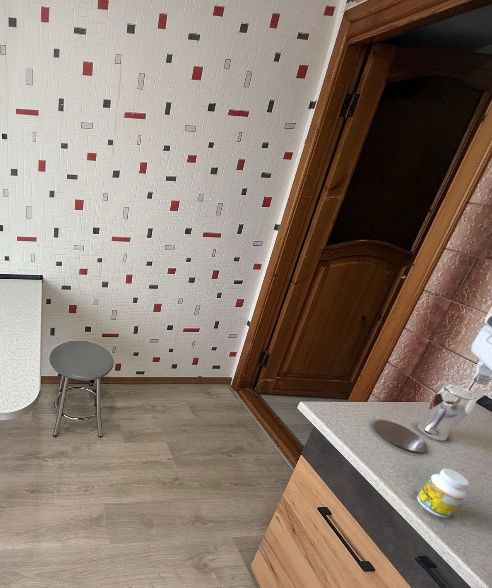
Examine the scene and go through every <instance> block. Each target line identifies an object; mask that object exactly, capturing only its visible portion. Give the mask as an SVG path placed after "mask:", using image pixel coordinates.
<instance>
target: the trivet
mask: <svg viewBox="0 0 492 588" xmlns="http://www.w3.org/2000/svg"><path fill="white" fill-rule="evenodd" d="M373 427H374V430H375V432H377V434H378V435H379V436H380V437H381V438H382V439H384V440H385V441H386V442H388V443H390V444H391V445H393V446H395V447H396V448H399V449H400V450H403V451H406V452H408V453H409V452H410V453H414V454H423V453H425V452H426V451H427V444H426V442H425V441H424V440H423V439H422V437H420V436H419V435H418V434H416V432H414V431H412V430H410V429H409V428H407V427H406V426H403V425H401V424H399V423H396V422H393V421H391V420H386V419H385V420H384V419H379V420H377V421H375V422H374V424H373Z"/></svg>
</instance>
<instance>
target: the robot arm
mask: <svg viewBox="0 0 492 588" xmlns="http://www.w3.org/2000/svg"><path fill="white" fill-rule="evenodd" d="M484 323H485V325H483V326H482V328H481V329H480V330H479V332H478V333H477V335H476V336H475V338H474V340H473V342H472V343H471V346H470V347H471V348H470V351H471V353H472V354H473V355H474V356H475V357H476V358H477V359H478V360H479V361H478V362H477V365H476V372H475V374H474V375H473V377H472V380H473V381H474V382H475V383H477V384H478V385H483V386H488V385H489V383H490V382H491V381H492V377H491V375H492V313H490V314H488V315H487V317H485V320H484Z"/></svg>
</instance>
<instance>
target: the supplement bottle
mask: <svg viewBox="0 0 492 588" xmlns="http://www.w3.org/2000/svg"><path fill="white" fill-rule="evenodd" d="M469 485H470V482H469V481H468V479H467V478H466V477H465V476H463V474H461V473H459V472H457V471H456V470H453V469H450V468H443V469H441V470H440V471H439V473H434V474H432V475H431V476H430V477H429V478H428V480H427V481H426V483H425V484H424V485H423V487H422V488H421V489H420V491H419V492H418V493H417V496H416V499H417V501H418V503H419V504H420V505H421V506H422V507H423V508H424V509H425V510H426V511H427V512H429V513H431V514H432V515H434V516H437V517H439V518H442V519H443V518H445V519H446V518H450V517H451V515H453V513H454V512H455V511H456V510H457V508H458V507H459V506H460V505H461V504H462V502H463V501H464V500H465V499H466V498H467V494H468V493H467V490H466V489H467V488H468V486H469Z"/></svg>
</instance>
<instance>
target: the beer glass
mask: <svg viewBox="0 0 492 588" xmlns="http://www.w3.org/2000/svg"><path fill="white" fill-rule="evenodd" d="M478 400H479V397H478V396H477V394H475V393H474V392H472V391H471V390H470V389H467V388H465V387H463V386H460V385H457V384H454V383H449V382H448V383H443V385H442V386H441V387H440V388H439V390H437V392H436V394H435V395H434V396H433V397H432V400H431V402H430V405H429V408H428V410H427V414H426V416H425V417H424V419H423V420H421V421H420V422H419V423H418V424H417V428H418V430H419V431H420V432H422V433H423V434H424V435H426V436H427V437H430V438H431V439H434V440H436V441H442V442H444V441H447V439H448V438H449V433H450V432H451V430H452V429H453V428H454V427H455V426H456V425H458V424H459V423H461V421H463V420H464V419H465V418H466V417H467V416H469V414H470V413H471V412H472V410H473V408H474V407H475V405H476V403H477V401H478Z"/></svg>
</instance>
